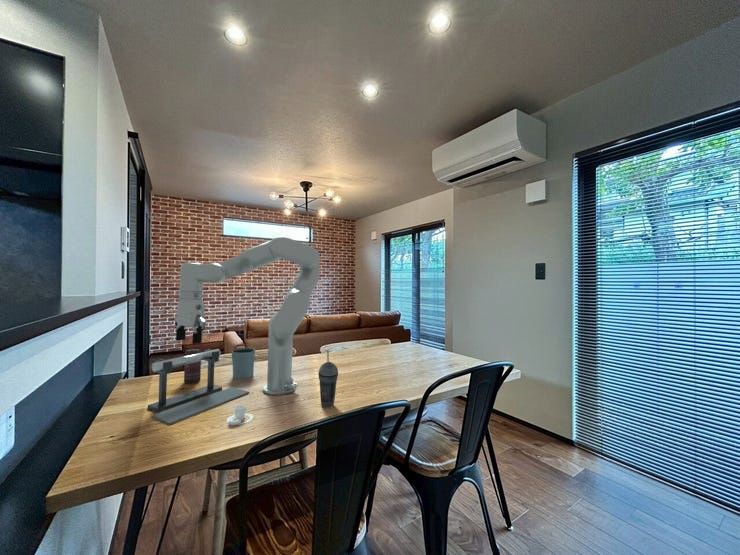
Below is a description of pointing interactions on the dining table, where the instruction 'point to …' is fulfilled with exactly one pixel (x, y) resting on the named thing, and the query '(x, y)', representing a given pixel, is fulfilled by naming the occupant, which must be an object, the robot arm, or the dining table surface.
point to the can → (192, 368)
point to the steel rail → (184, 360)
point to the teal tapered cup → (243, 363)
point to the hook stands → (188, 396)
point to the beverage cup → (328, 383)
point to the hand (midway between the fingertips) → (188, 341)
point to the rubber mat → (198, 405)
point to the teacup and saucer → (239, 416)
